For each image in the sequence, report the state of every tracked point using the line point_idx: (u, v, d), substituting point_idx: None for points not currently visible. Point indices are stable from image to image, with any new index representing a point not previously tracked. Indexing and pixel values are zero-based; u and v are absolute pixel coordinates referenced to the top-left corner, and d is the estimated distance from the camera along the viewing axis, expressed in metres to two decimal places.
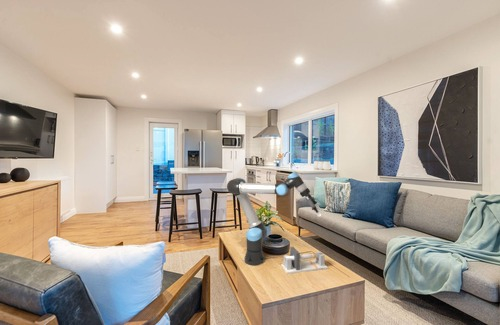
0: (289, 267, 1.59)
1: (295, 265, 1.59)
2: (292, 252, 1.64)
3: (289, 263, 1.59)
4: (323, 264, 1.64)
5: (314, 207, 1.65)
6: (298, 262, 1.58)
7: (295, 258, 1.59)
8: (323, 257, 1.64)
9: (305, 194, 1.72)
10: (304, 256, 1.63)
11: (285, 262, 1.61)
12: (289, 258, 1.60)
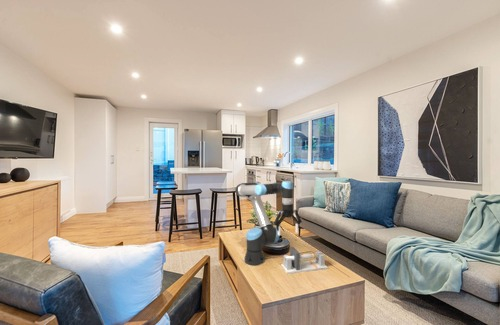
0: (289, 267, 1.59)
1: (295, 265, 1.59)
2: (292, 252, 1.64)
3: (289, 263, 1.59)
4: (323, 264, 1.64)
5: (274, 224, 1.58)
6: (298, 262, 1.58)
7: (295, 258, 1.59)
8: (323, 257, 1.64)
9: (282, 208, 1.60)
10: (304, 256, 1.63)
11: (285, 262, 1.61)
12: (289, 258, 1.60)
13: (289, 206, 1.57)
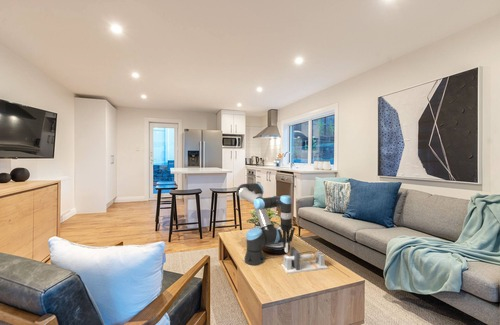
0: (289, 267, 1.59)
1: (295, 265, 1.59)
2: (292, 252, 1.64)
3: (289, 263, 1.59)
4: (323, 264, 1.64)
5: (281, 241, 1.60)
6: (298, 262, 1.58)
7: (295, 258, 1.59)
8: (323, 257, 1.64)
9: (281, 222, 1.60)
10: (304, 256, 1.63)
11: (285, 262, 1.61)
12: (289, 258, 1.60)
13: (287, 221, 1.57)
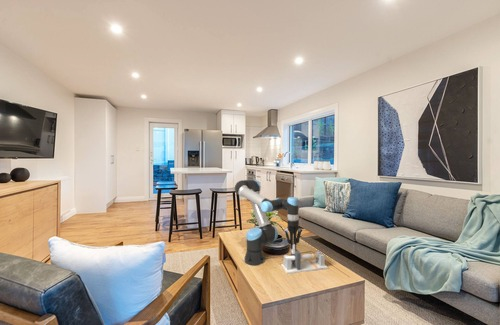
0: (289, 267, 1.59)
1: (296, 265, 1.59)
2: None
3: (289, 263, 1.59)
4: (323, 264, 1.64)
5: (288, 242, 1.61)
6: (299, 262, 1.58)
7: (296, 258, 1.59)
8: (323, 257, 1.64)
9: (288, 224, 1.61)
10: (304, 256, 1.63)
11: (285, 262, 1.61)
12: (289, 258, 1.60)
13: (294, 223, 1.58)
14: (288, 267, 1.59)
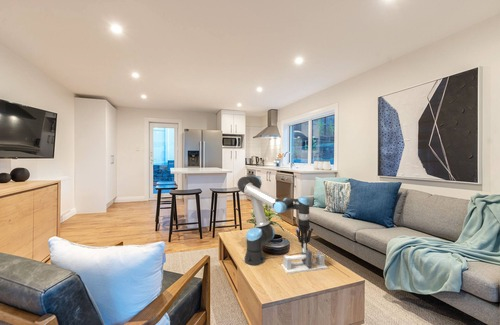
0: (289, 267, 1.59)
1: (307, 264, 1.61)
2: None
3: (289, 263, 1.59)
4: (323, 264, 1.64)
5: (299, 241, 1.62)
6: (310, 261, 1.60)
7: (307, 257, 1.61)
8: (323, 257, 1.64)
9: (299, 223, 1.63)
10: (304, 256, 1.63)
11: (285, 262, 1.61)
12: (289, 258, 1.60)
13: (305, 222, 1.60)
14: (288, 267, 1.59)
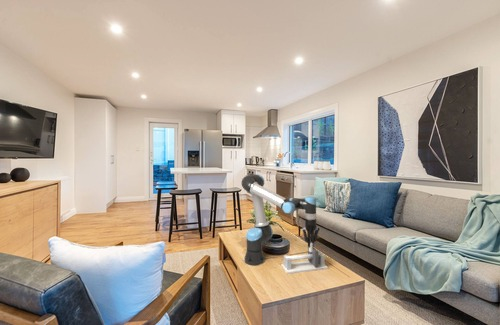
0: (289, 267, 1.59)
1: (314, 263, 1.62)
2: None
3: (289, 263, 1.59)
4: (323, 264, 1.64)
5: (306, 241, 1.64)
6: (317, 260, 1.61)
7: (314, 256, 1.62)
8: (323, 257, 1.64)
9: (305, 223, 1.64)
10: (304, 256, 1.63)
11: (285, 262, 1.61)
12: (289, 258, 1.60)
13: (312, 221, 1.61)
14: (288, 267, 1.59)
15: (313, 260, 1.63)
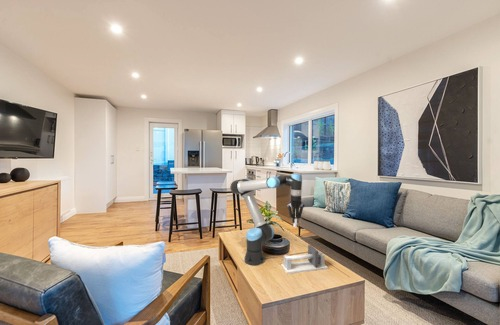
0: (289, 267, 1.59)
1: (314, 263, 1.62)
2: (310, 250, 1.67)
3: (289, 263, 1.59)
4: (323, 264, 1.64)
5: (291, 217, 1.67)
6: (317, 260, 1.61)
7: (314, 256, 1.62)
8: (323, 257, 1.64)
9: (291, 199, 1.67)
10: (304, 256, 1.63)
11: (285, 262, 1.61)
12: (289, 258, 1.60)
13: (297, 197, 1.64)
14: (288, 267, 1.59)
15: (313, 260, 1.63)
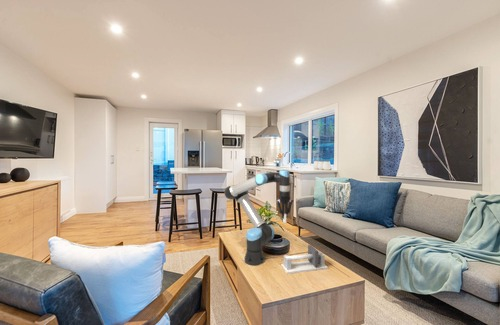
0: (289, 267, 1.59)
1: (314, 263, 1.62)
2: (310, 250, 1.67)
3: (289, 263, 1.59)
4: (323, 264, 1.64)
5: (280, 212, 1.72)
6: (317, 260, 1.61)
7: (314, 256, 1.62)
8: (323, 257, 1.64)
9: None
10: (304, 256, 1.63)
11: (285, 262, 1.61)
12: (289, 258, 1.60)
13: (285, 193, 1.69)
14: (288, 267, 1.59)
15: (313, 260, 1.63)
